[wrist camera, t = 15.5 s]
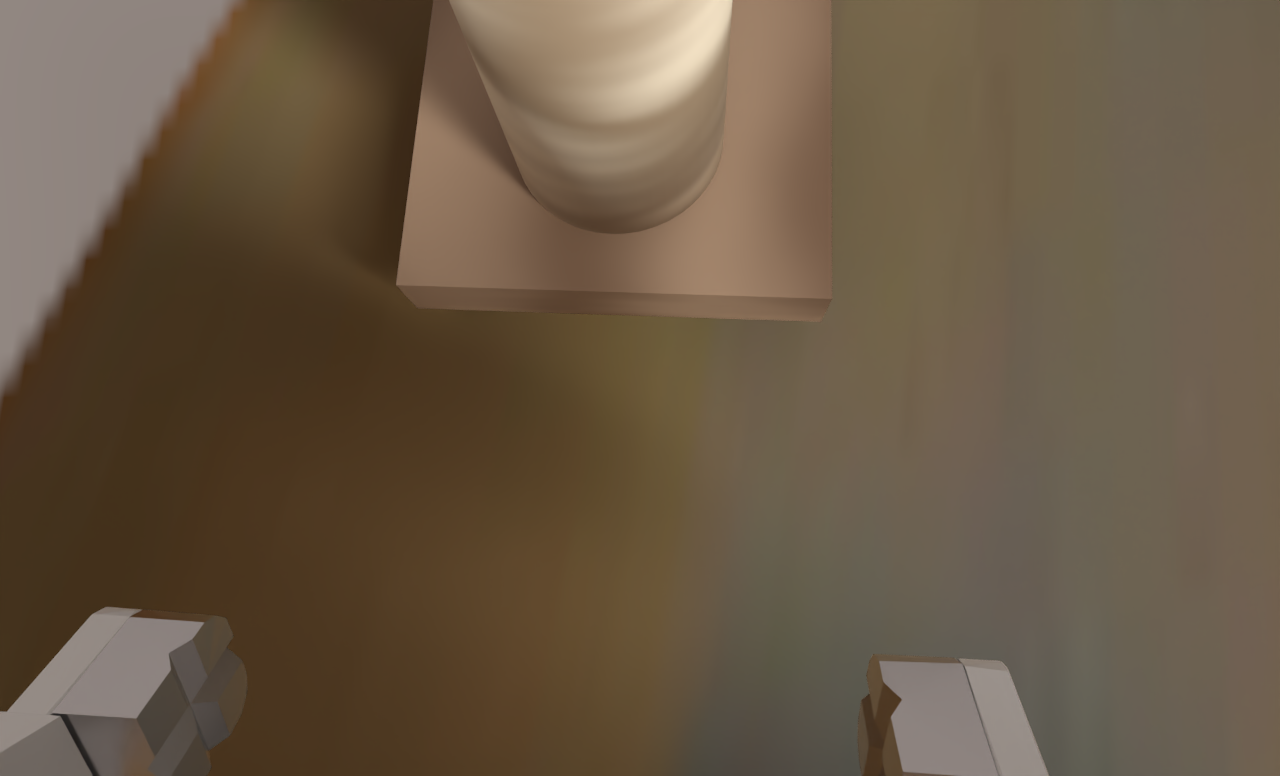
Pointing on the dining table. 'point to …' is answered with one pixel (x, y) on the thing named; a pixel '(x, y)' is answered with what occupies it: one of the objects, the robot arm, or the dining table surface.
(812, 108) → the brown grey block
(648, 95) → the birch roller
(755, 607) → the dining table surface
